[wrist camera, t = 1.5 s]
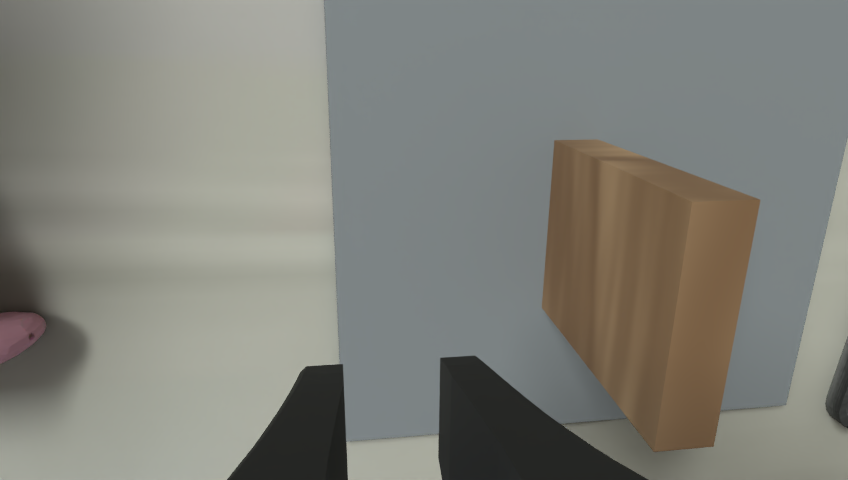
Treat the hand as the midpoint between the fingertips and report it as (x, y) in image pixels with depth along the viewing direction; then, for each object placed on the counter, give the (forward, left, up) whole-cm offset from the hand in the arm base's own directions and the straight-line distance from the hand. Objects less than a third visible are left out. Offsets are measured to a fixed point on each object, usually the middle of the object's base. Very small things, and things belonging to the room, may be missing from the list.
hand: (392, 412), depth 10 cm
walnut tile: (+7, 0, -10) cm, 12 cm away
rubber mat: (+8, 0, -10) cm, 13 cm away
